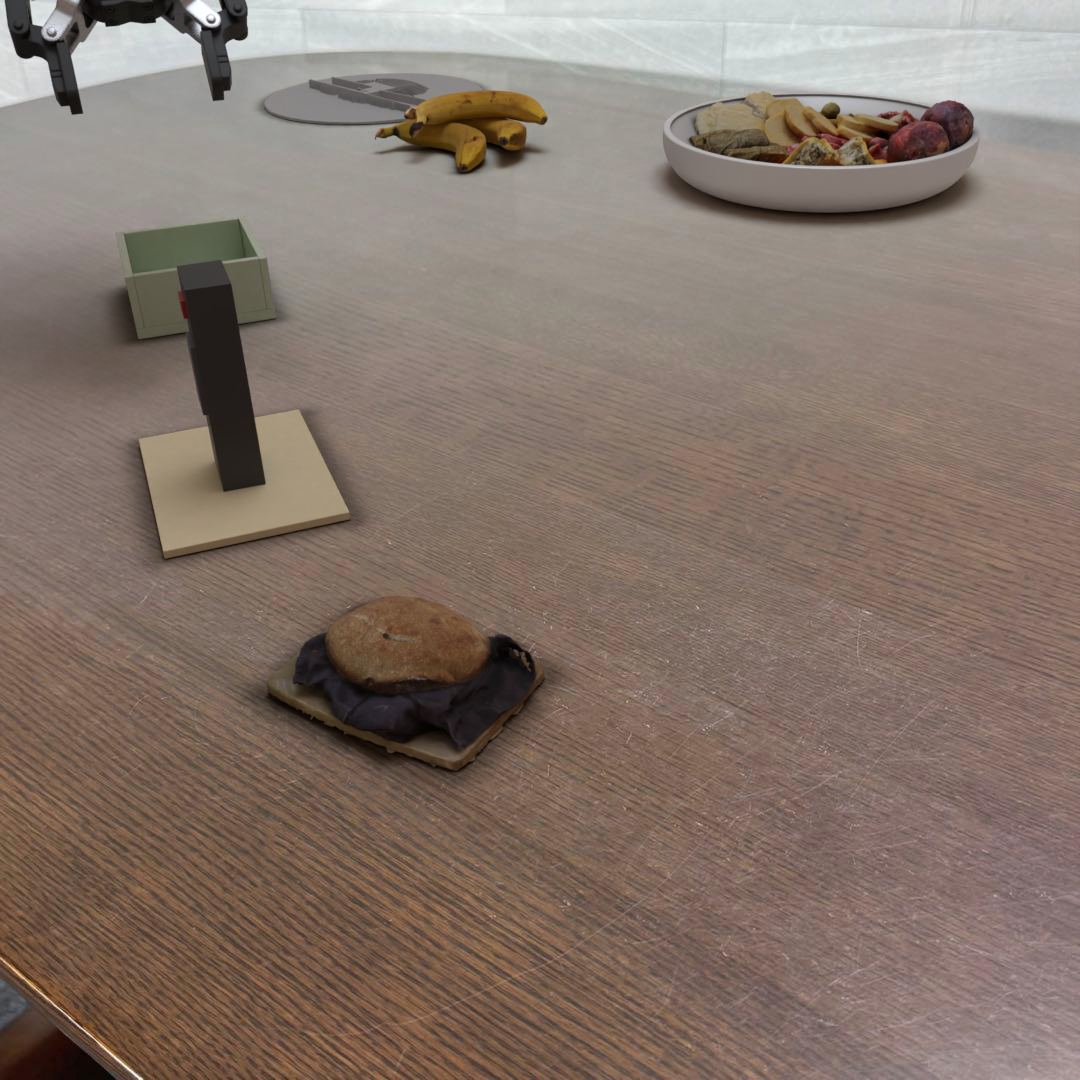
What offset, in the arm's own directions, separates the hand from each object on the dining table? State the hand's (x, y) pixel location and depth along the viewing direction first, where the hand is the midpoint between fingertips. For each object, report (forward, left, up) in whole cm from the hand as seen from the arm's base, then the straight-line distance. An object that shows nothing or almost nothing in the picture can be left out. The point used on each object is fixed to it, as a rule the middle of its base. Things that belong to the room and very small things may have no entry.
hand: (148, 100), depth 74 cm
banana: (+53, +23, -18) cm, 61 cm away
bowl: (+65, -13, -18) cm, 69 cm away
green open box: (+8, +11, -18) cm, 23 cm away
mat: (-9, -14, -18) cm, 25 cm away
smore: (-17, -35, -18) cm, 43 cm away
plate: (+68, +51, -18) cm, 87 cm away
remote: (-9, -14, -18) cm, 24 cm away
